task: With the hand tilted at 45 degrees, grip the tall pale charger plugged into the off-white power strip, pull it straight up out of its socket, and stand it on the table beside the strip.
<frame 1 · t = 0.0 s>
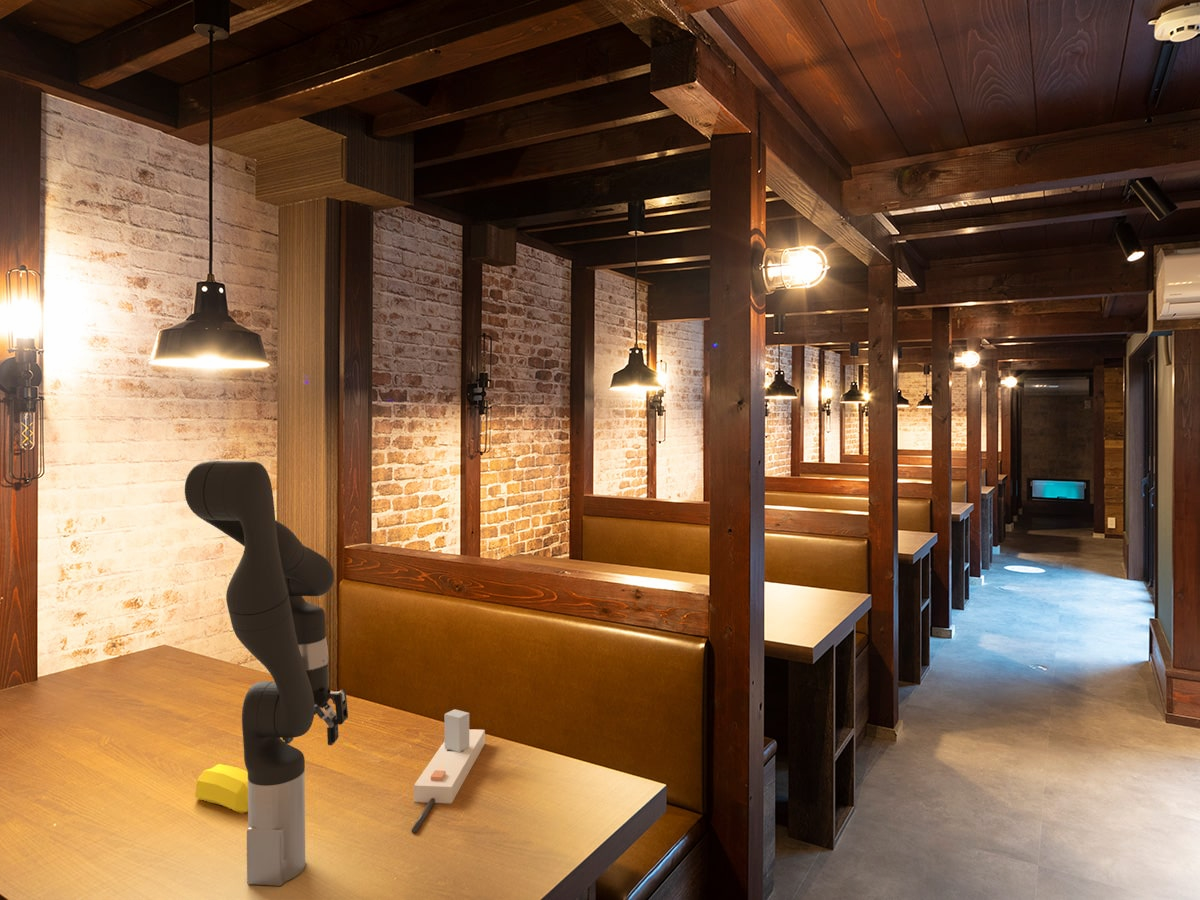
hand: (310, 742, 147), 17 cm above the table, tool pointing down, fingers open, 8 cm apart
yellow banana: (231, 803, 159), on the table
power strip: (452, 770, 173), on the table
charger: (456, 754, 177), point 2 cm above the table, touching power strip
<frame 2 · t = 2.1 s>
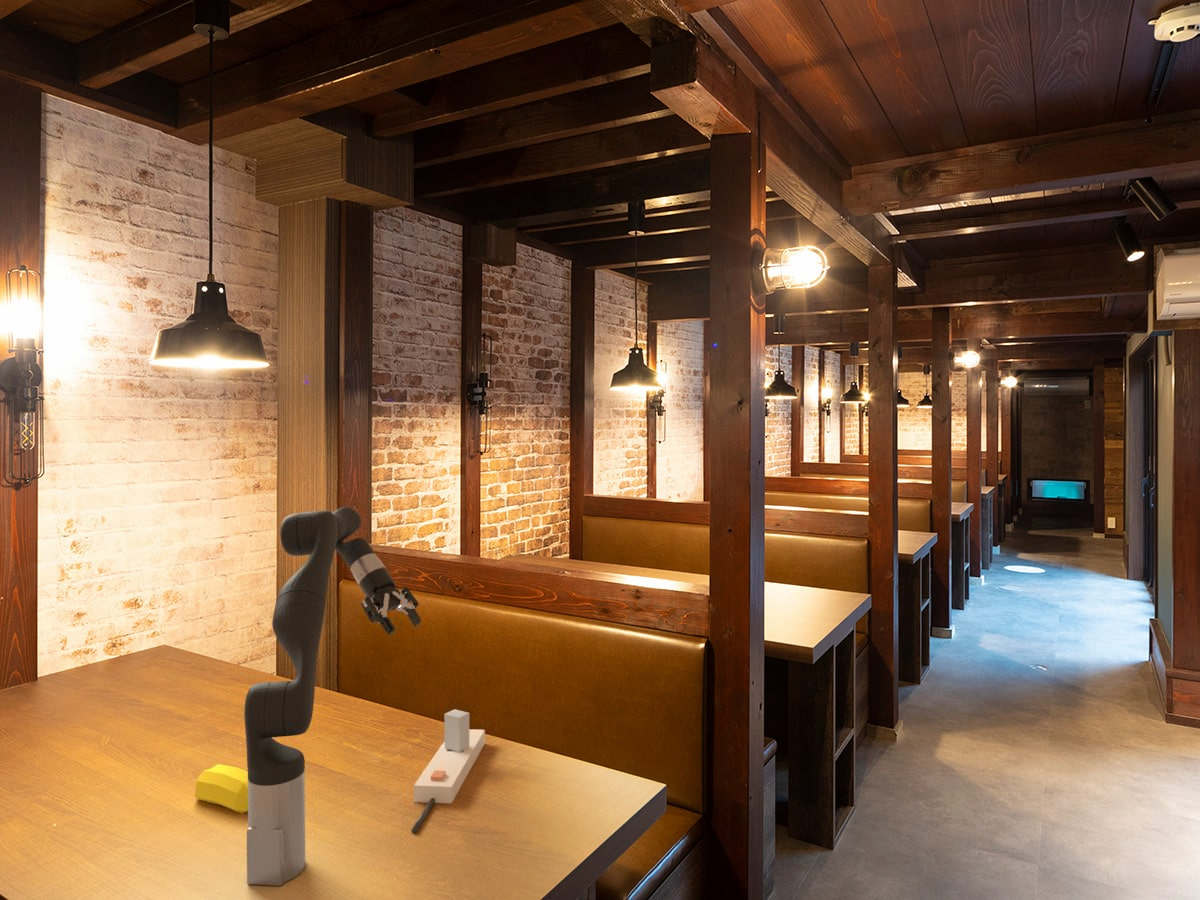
hand: (405, 628, 185), 29 cm above the table, tool tilted 45°, fingers open, 8 cm apart
nothing on the table moved.
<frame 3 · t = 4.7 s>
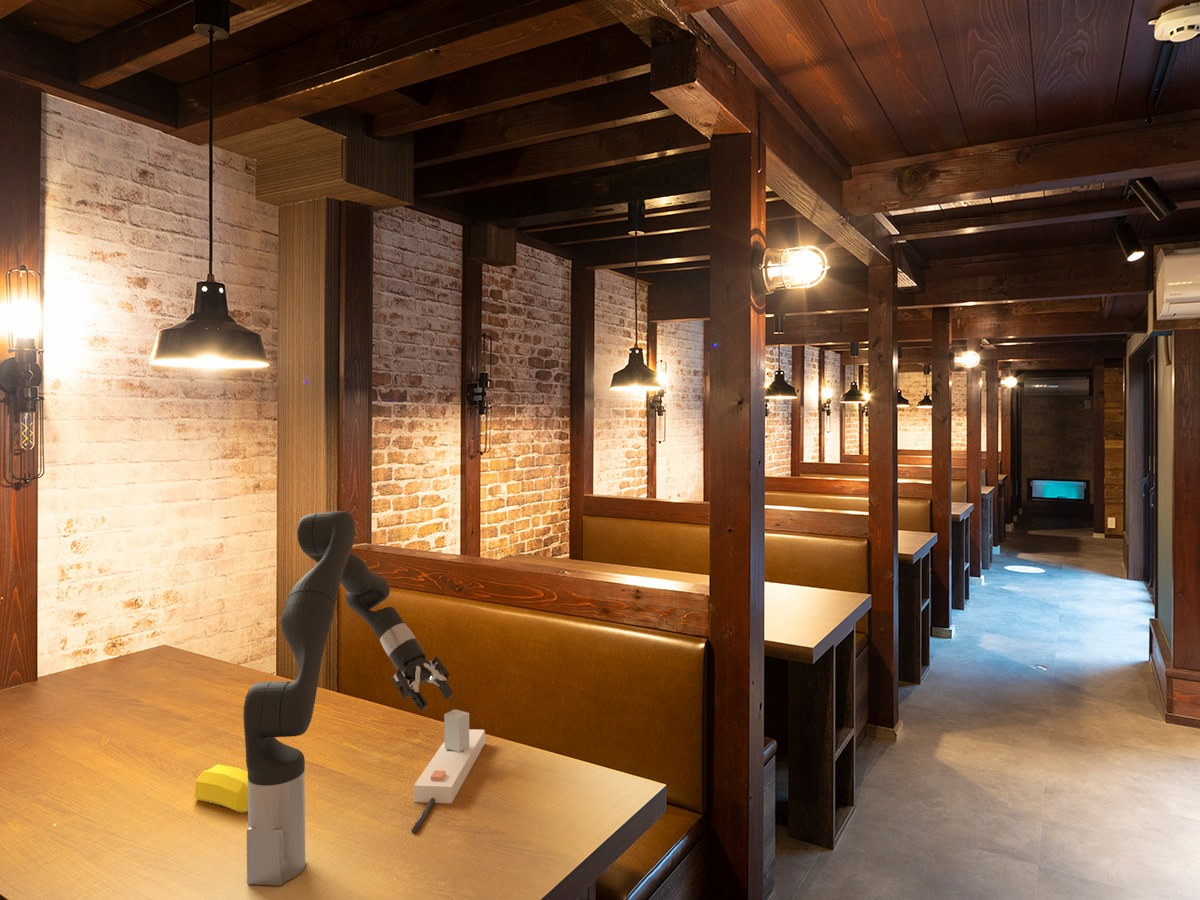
hand: (437, 702, 180), 13 cm above the table, tool tilted 45°, fingers open, 8 cm apart
nothing on the table moved.
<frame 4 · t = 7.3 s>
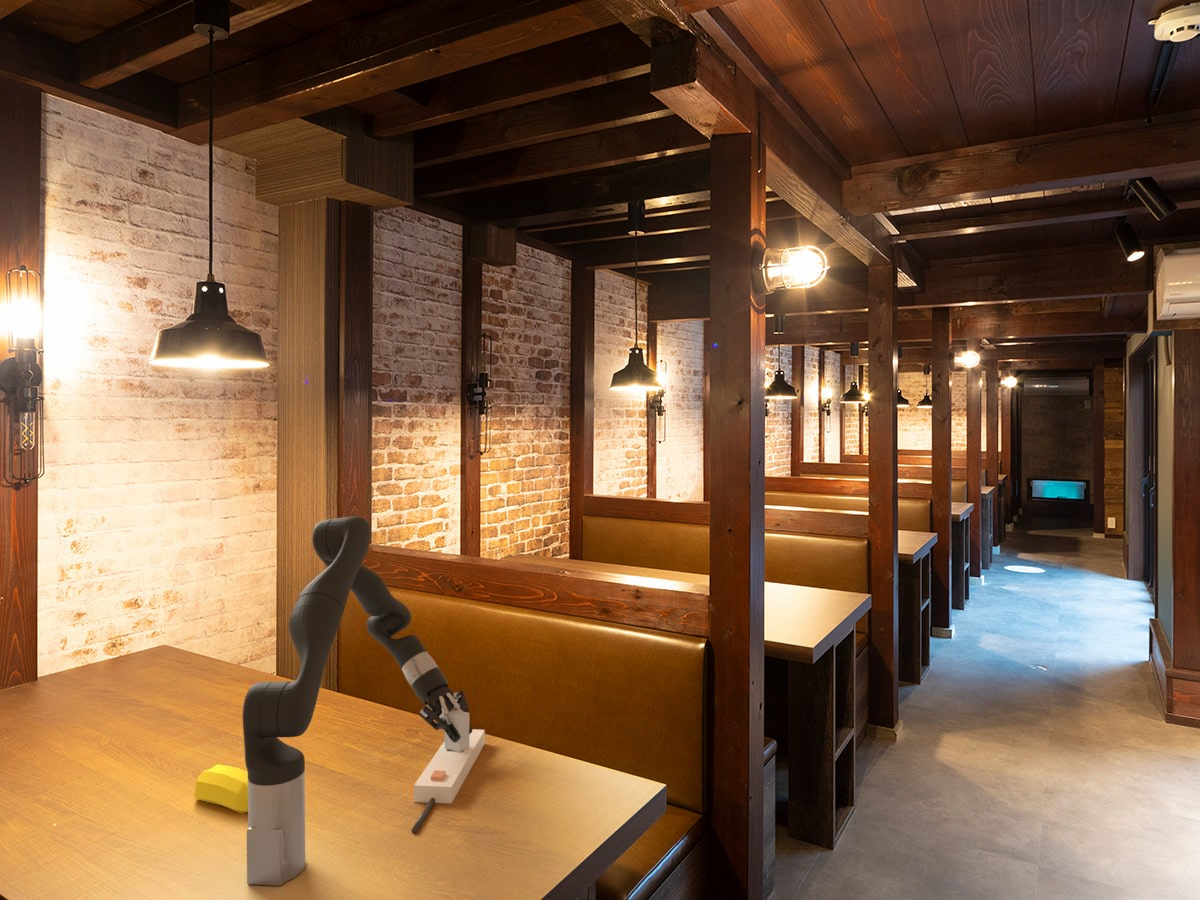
hand: (463, 736, 176), 7 cm above the table, tool tilted 45°, fingers closed on charger, 3 cm apart
charger: (456, 754, 177), point 2 cm above the table, touching gripper, power strip
everything else where it was.
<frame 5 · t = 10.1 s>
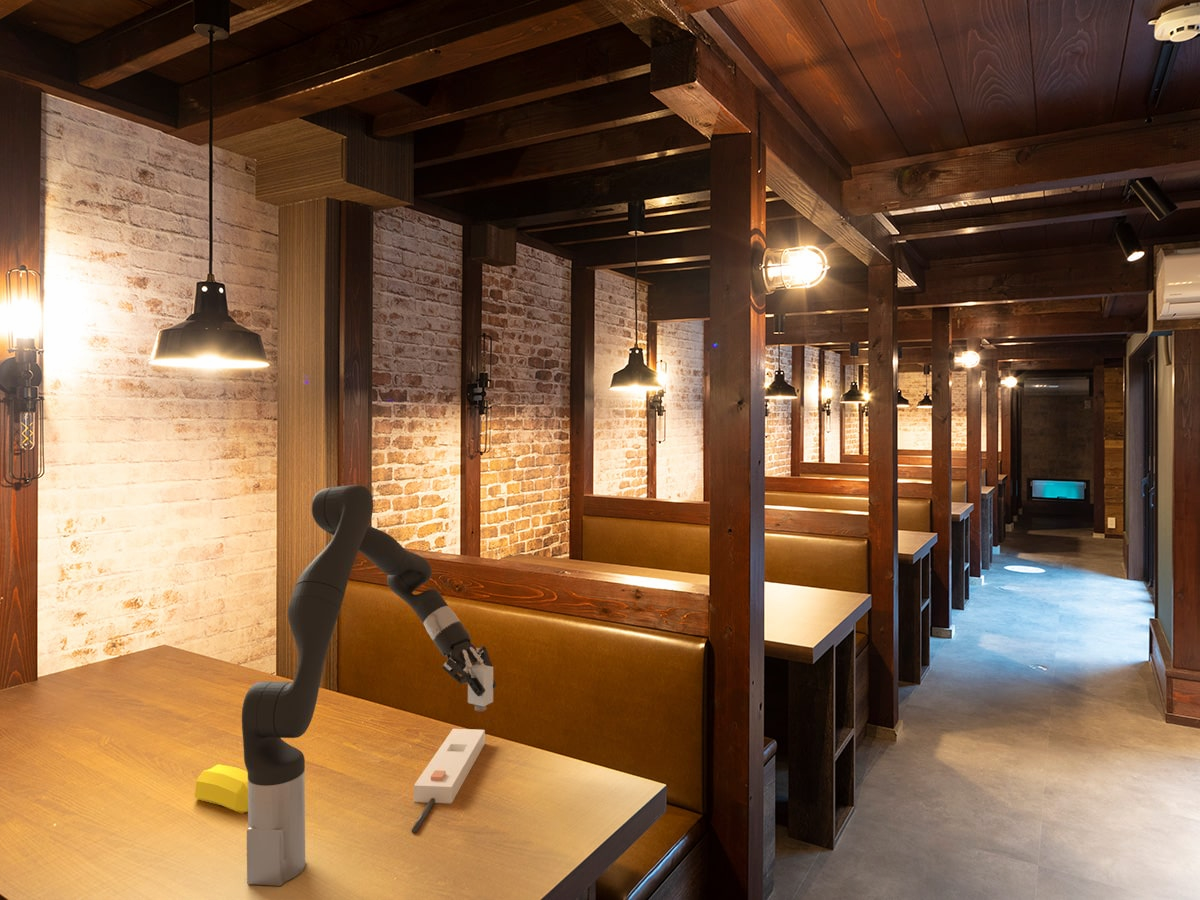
hand: (487, 691, 172), 19 cm above the table, tool tilted 45°, fingers closed on charger, 3 cm apart
charger: (480, 709, 173), point 14 cm above the table, touching gripper
everything else where it was.
when the fingers open (6 cm above the table, at t = 13.4 s): charger drops 1 cm, on the table.
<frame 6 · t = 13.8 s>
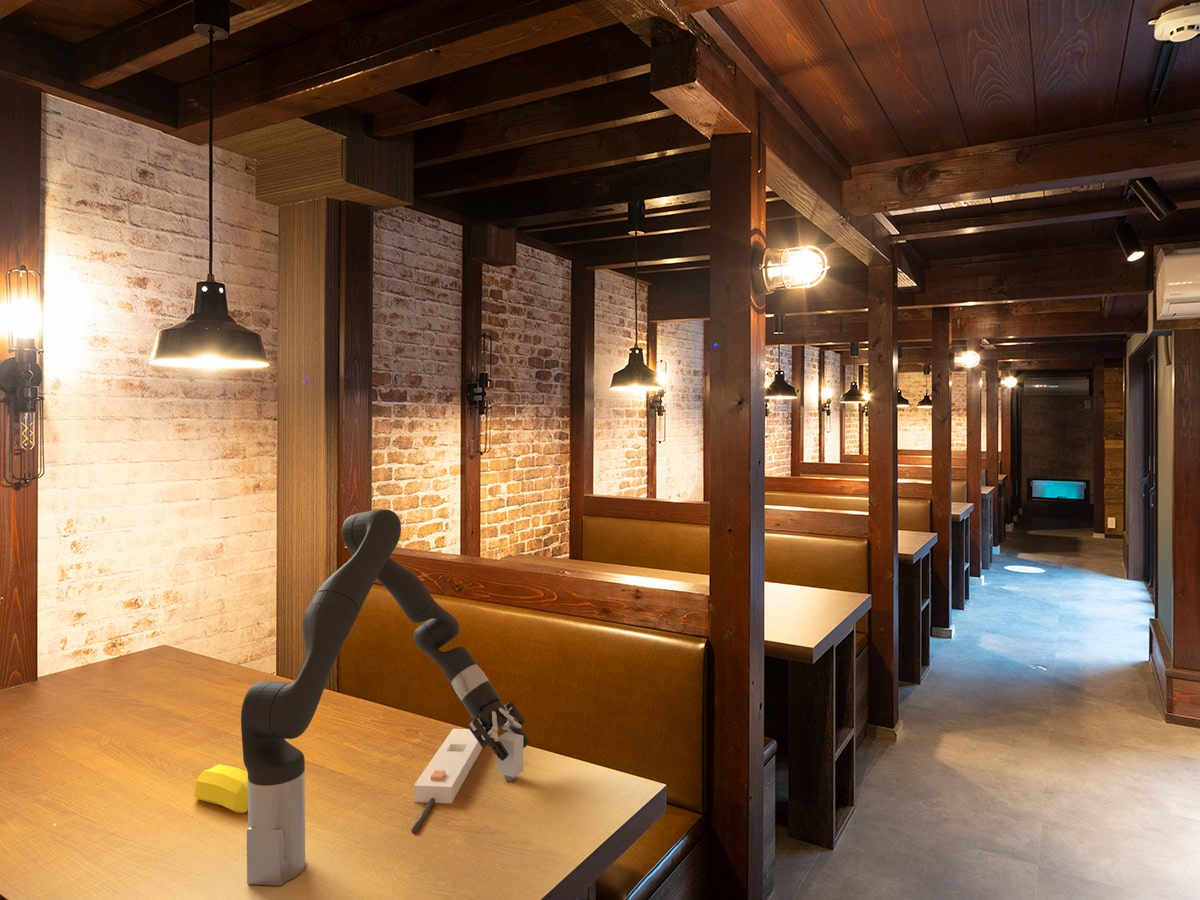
hand: (516, 751, 168), 6 cm above the table, tool tilted 45°, fingers open, 7 cm apart
charger: (510, 779, 169), on the table
everything else where it was.
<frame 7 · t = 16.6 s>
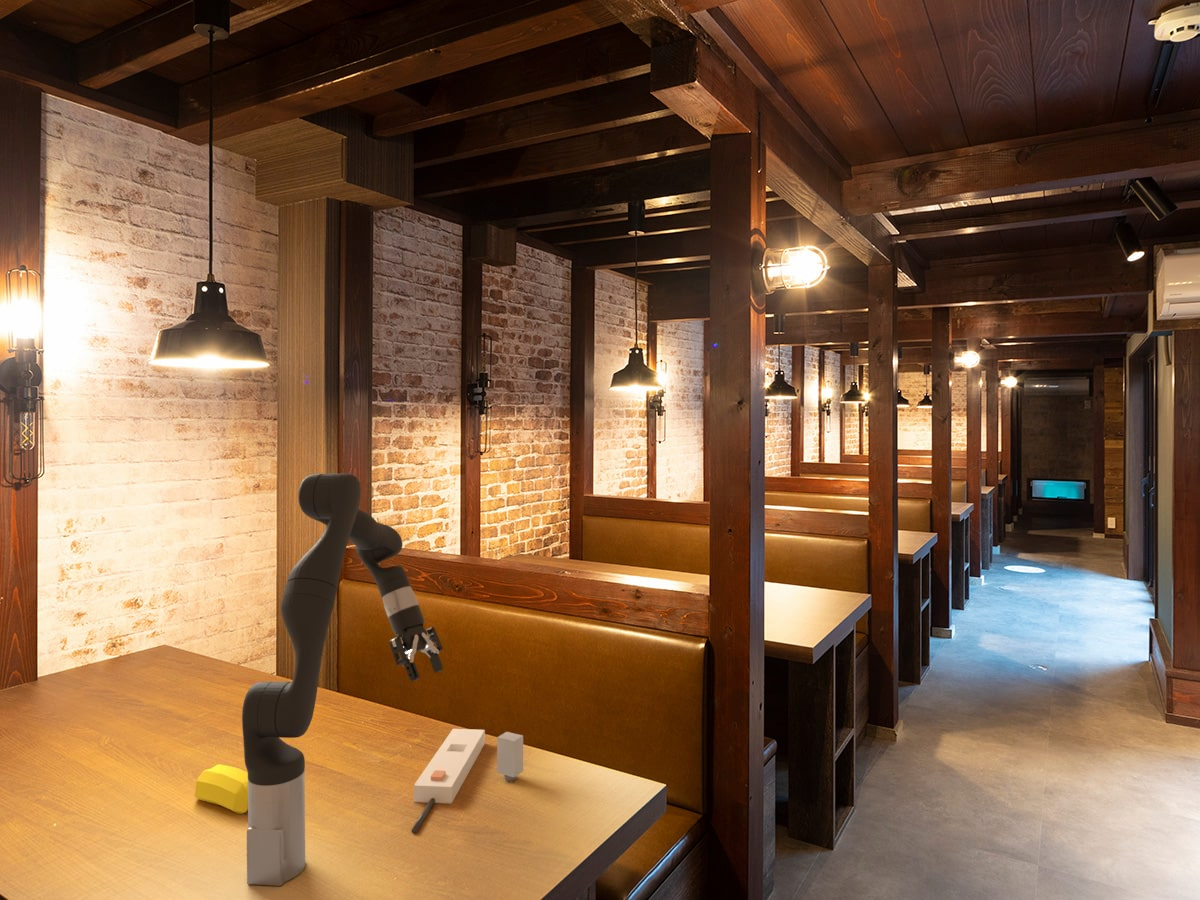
hand: (427, 675, 176), 21 cm above the table, tool tilted 30°, fingers open, 8 cm apart
nothing on the table moved.
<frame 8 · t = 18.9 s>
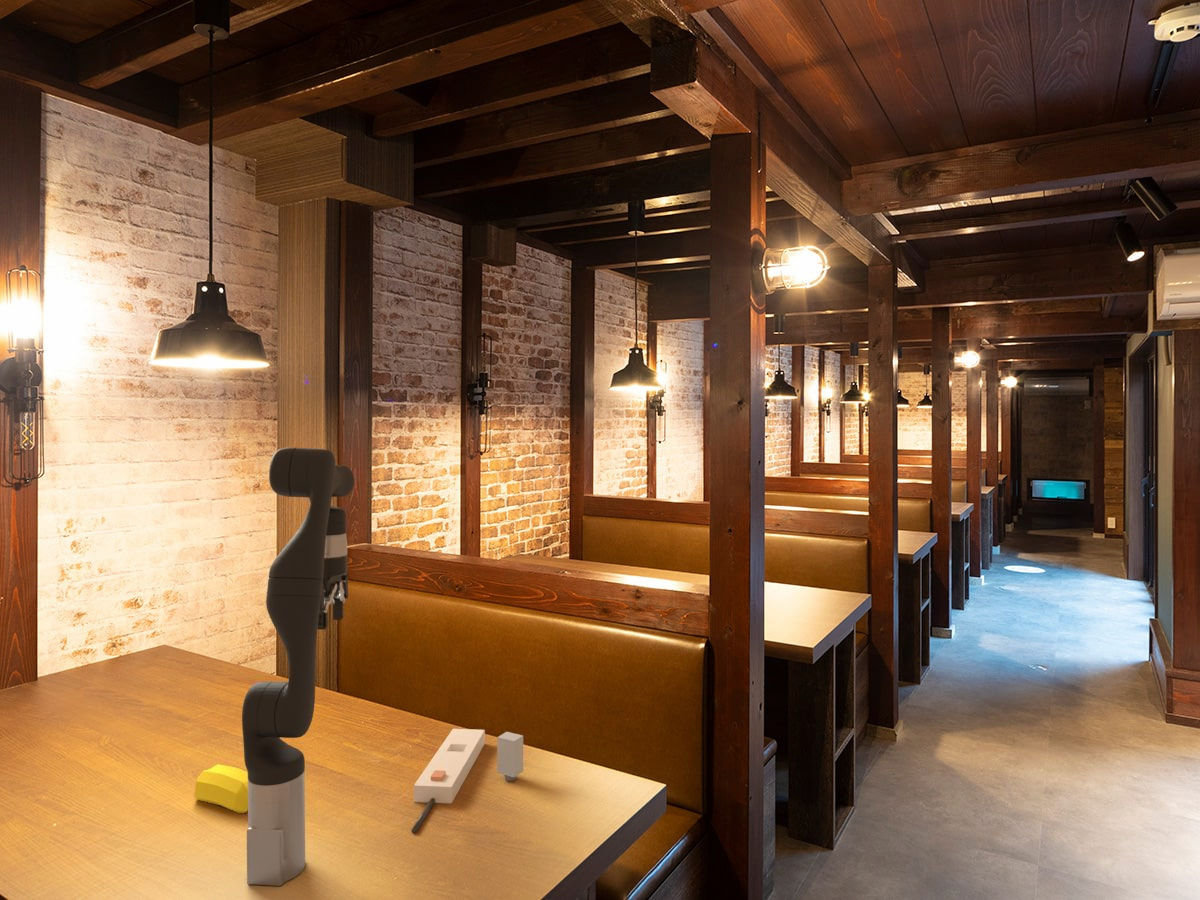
hand: (330, 624, 174), 33 cm above the table, tool pointing down, fingers open, 8 cm apart
nothing on the table moved.
at the end: charger inside the target area (0.0 cm from its centre), on the table; charger tilted 0°; the gripper is holding nothing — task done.
